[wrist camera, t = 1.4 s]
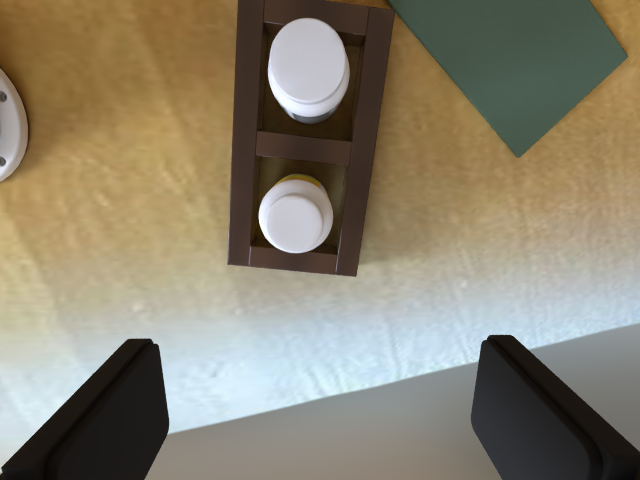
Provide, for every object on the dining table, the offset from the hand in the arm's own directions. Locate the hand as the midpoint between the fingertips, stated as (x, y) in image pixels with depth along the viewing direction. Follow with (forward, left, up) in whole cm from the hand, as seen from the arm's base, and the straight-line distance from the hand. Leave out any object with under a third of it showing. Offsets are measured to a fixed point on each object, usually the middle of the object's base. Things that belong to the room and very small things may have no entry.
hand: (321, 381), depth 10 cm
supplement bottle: (-2, 0, -24) cm, 24 cm away
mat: (0, +24, -24) cm, 34 cm away
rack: (-5, +4, -24) cm, 25 cm away
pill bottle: (-8, +8, -24) cm, 27 cm away
